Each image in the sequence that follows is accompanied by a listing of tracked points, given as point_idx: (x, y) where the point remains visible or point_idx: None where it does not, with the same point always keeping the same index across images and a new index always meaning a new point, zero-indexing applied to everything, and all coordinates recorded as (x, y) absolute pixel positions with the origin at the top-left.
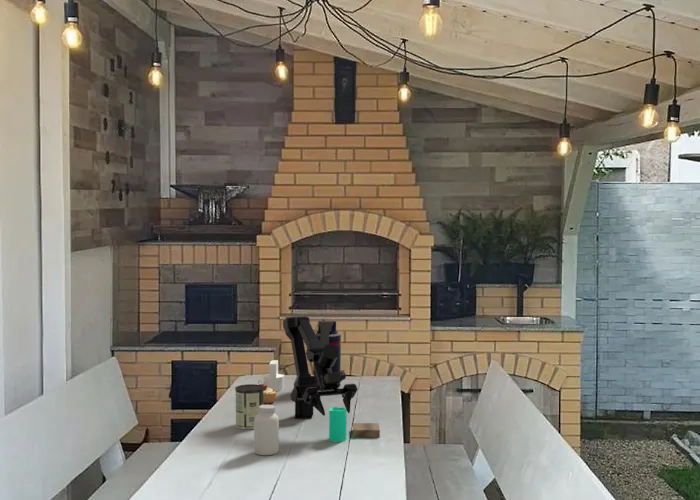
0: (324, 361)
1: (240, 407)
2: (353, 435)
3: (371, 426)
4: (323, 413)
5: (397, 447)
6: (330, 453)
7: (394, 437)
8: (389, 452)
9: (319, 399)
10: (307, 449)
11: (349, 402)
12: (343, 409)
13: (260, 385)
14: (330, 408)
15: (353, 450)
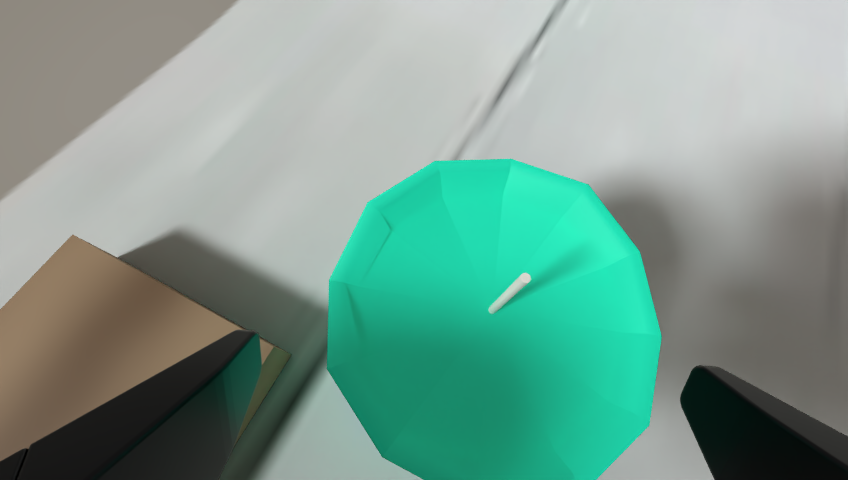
0: None
1: None
2: (261, 401)
3: (25, 384)
4: (731, 383)
5: (194, 43)
6: (599, 116)
7: (26, 206)
8: (295, 4)
9: None
10: (718, 237)
11: (58, 447)
12: (365, 321)
13: None
14: (615, 449)
15: (454, 104)
